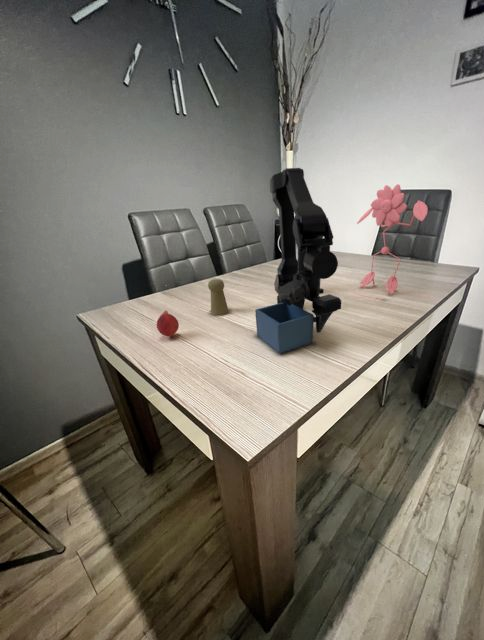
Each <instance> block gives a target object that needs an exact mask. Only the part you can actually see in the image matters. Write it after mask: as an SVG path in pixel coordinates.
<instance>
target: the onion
mask: <svg viewBox="0 0 484 640" xmlns="http://www.w3.org/2000/svg"><path fill="white" fill-rule="evenodd" d="M179 324H180V323H179V320H178V319H177V318H176V317H175V316H174V315H173V314H171V313H169V311H168V310H163V312H162V313H161V314H160V315H159V317H158V318H157V321H156V328H157V331H158V332H159V333H160V334H161V335H162V336H165V337H169V338H172V337H173V336H174V335H175V334H176V333H177V332H178V330H179V328H180V325H179Z"/></svg>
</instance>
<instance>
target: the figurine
mask: <svg viewBox="0 0 484 640" xmlns="http://www.w3.org/2000/svg"><path fill="white" fill-rule="evenodd" d="M376 197H377V198H376V199H373V201H372V202H371V204H370V208H369V209H368V210H367V211H366V212H364V214H363V215H362V216H361V217H360V218H359V220H358V221H357V222H356V224H357V225H358V224H360V223H361V222H363V221H364V220H365V219H366V218H367V217H369V216H370V214H371V217H372V218H375V224H376V225H377V226H380V227H381V228H384V227H387V228H385V229H384V230H383V231H382V237H383V238H382V239H383V244H384V246H383V247H382V248H381V250H380V251H378V252H376V253H375V254H372V261H371V270H370V272H369V273H367V274H366V275H365V276H364V277H363V279H362V281H361V282H360V283H361V284H360V287H361V288H363V287H365V286H367V285H369V284H370V283H371V282H372V286H373V287H375V286H376V284H375V279H374V278H375V275H376V273H375V272H374V271H373V270H374V269H373V268H374V258H375V256H376V255H379V254H382V255H387V254H388V255H391V256H392V257H394V258H396V259H397V260H398V263H397V265H396V268H395V271H394V273H393V276H390V277H389V278H388V279H387V281H386V290H387V291H388V293H389V294H390V295H392V294H393V293H395V292H396V290H397V289H398V286H399V280H398V278H397V277H396V274H397V271H398V269H399V266H400V262H401V258H399V256H396V255H394V254H393V253H391V252H390V247H389V246H387V245H386V235H385V232H386V231H388V230H390V228H391V227H393V226H394V225H401V226H405V227H407V226H408V227H411V226H412V224H413V221H414V219H415V218H416V220H419V221H420V222H424V220H425V219H426V216H427V215H428V208H429V207H428V205H427V204H426V203H425V202H424V201H421V200H417V202H416V203H414V206H413V209H412V214H413V215H412V217H411V219H410V222H409V223H406V222H405V223H404V222H399V221H400V219H401V215H400V214H402V213H404V212H405V211H406V210H407V208H408V205H407V204H406V203H404V202H403V201H404V200H405V193H404V192H402V189H401V185H400V184H399V183H398V184H396V185H395V186H394V187H393V188H391V186H389V185H387V184H386V185H385V186H384V187H383V189H379V190H377V191H376ZM383 223H384V224H383ZM354 295H358V296H360V297H362V298H363V297H364V298H367V296H365V295H362V294H360V293H359V294H358V293H355V292H354ZM369 298H370V299H372V297H371V296H368V299H369ZM374 299H375V300H381V298H378V297H374Z"/></svg>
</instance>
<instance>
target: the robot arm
mask: <svg viewBox="0 0 484 640" xmlns="http://www.w3.org/2000/svg"><path fill="white" fill-rule="evenodd" d="M269 191H270V194H271V196H272V201H273V203H274V205H275V206H276V208H277V209H278V219H279V220H278V221H279V236H280V252H281V253H280V255H281V261H280V263H279V264H278V267H277V270H276V271H277V274H276V275H275V279H274V283H273V285H274V291H275V292H276V294H277V296H276V299H277V300H276V304H279V303H285V304H287V305H292V304H293V305H295V306H297V307H299V308H301V309H303V310H304V307H305V302H306V300H307V301H310V302H311V307H312V310H311V313H312V314H313V315H314V316H315V317H316V322H315V331H316V333H317V334H318V333H319V334H320V333H321V332H322V330H323V328H324V327H325V325H326V324H327V322H328V321H329V319H330V317H331V316H332V314H333V313H334V312H337V311H338V310H341V309H342V299H341V298H340V297H339V296H336V295H332V294H325V295H322V294H324V291H325V290H324V288H321V281H322V280H326V279H329V278H330V277H332V276H333V275H334V274H335V273H336V271H337V269H338V267H339V261H338V258H337V255H335V253H333V252H331V246H333V244H334V240H333V239H334V234H333V230H332V228H331V225H330V221H329V218H328V217H327V214H326V212H325V211H324V209H323V208H322V206H320V205H318V204H316V203H314V201H313V198H312V196H311V192H310V190H309V188H308V184H307V182H306V180H305V171H304V169H303V168H301V167H287V168H284V169H283V170H282V171H280V172H277V173H274V174H273V175H272V176H271V178H270V179H269ZM296 243H297V247H298V261H297V259H296ZM321 279H322V280H321ZM320 295H321V296H320Z"/></svg>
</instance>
